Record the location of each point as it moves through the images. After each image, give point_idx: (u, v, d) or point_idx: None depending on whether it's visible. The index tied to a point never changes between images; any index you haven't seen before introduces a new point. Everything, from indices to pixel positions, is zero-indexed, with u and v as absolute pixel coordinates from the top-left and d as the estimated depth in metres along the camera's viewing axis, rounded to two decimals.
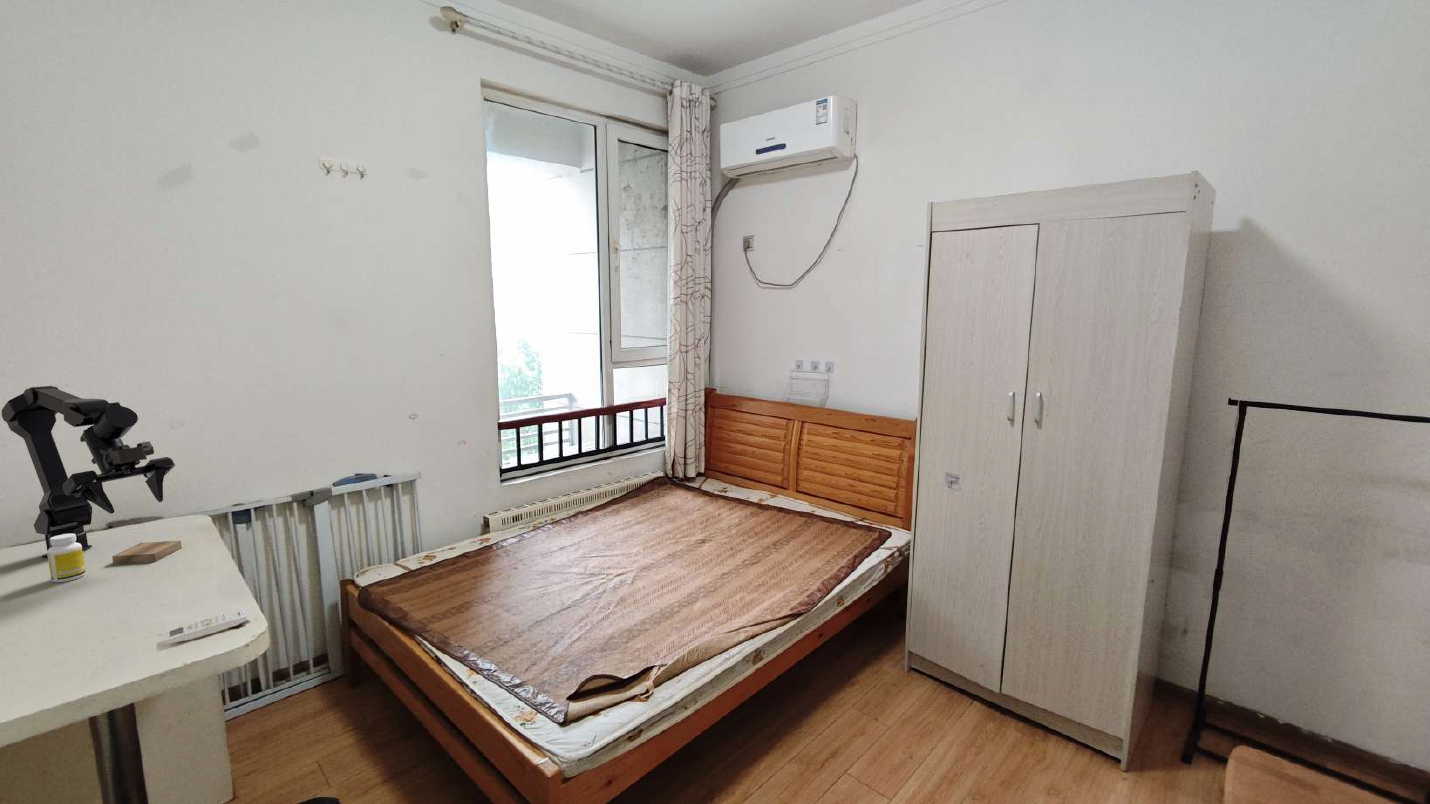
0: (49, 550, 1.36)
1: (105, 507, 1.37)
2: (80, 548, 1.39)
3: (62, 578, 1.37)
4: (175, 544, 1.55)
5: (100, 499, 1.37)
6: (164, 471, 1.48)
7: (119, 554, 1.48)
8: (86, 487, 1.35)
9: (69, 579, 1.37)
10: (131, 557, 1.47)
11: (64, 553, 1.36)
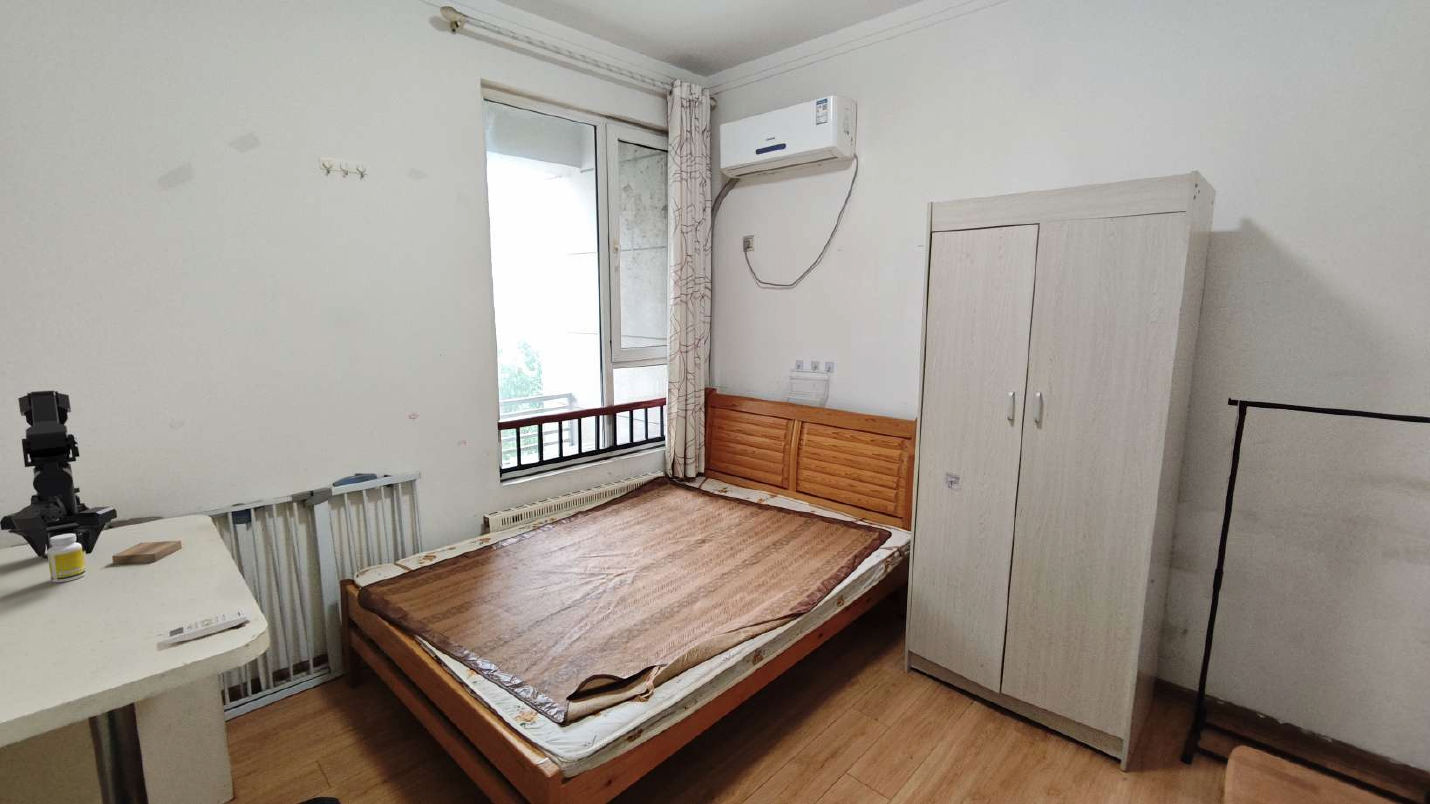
0: (49, 550, 1.36)
1: None
2: (80, 548, 1.39)
3: (62, 578, 1.37)
4: (175, 544, 1.55)
5: None
6: (86, 529, 1.36)
7: (119, 554, 1.48)
8: None
9: (69, 579, 1.37)
10: (131, 557, 1.47)
11: (64, 553, 1.36)
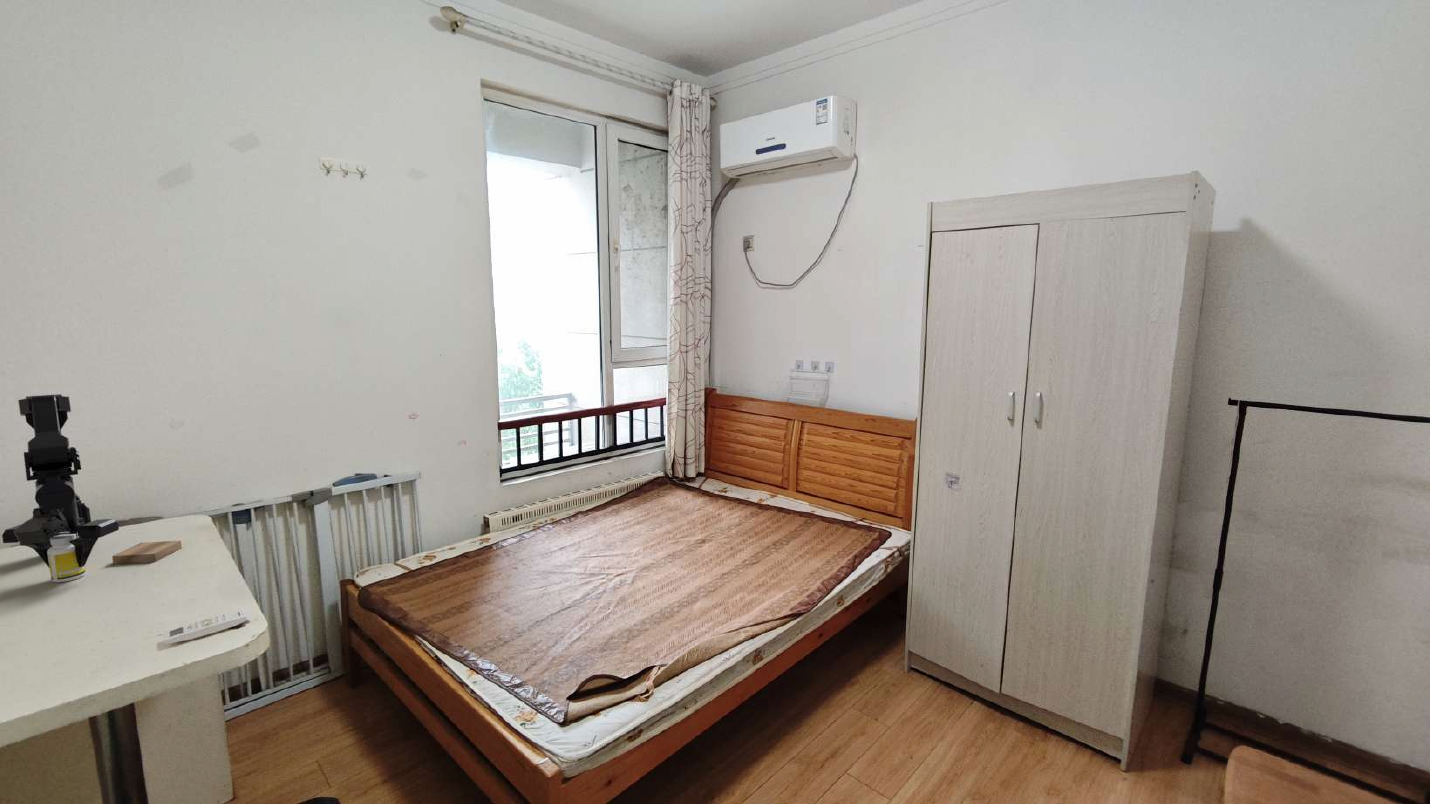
0: (49, 550, 1.36)
1: None
2: None
3: (62, 578, 1.37)
4: (175, 544, 1.55)
5: None
6: (78, 542, 1.36)
7: (119, 554, 1.48)
8: None
9: (69, 579, 1.37)
10: (131, 557, 1.47)
11: (64, 553, 1.36)
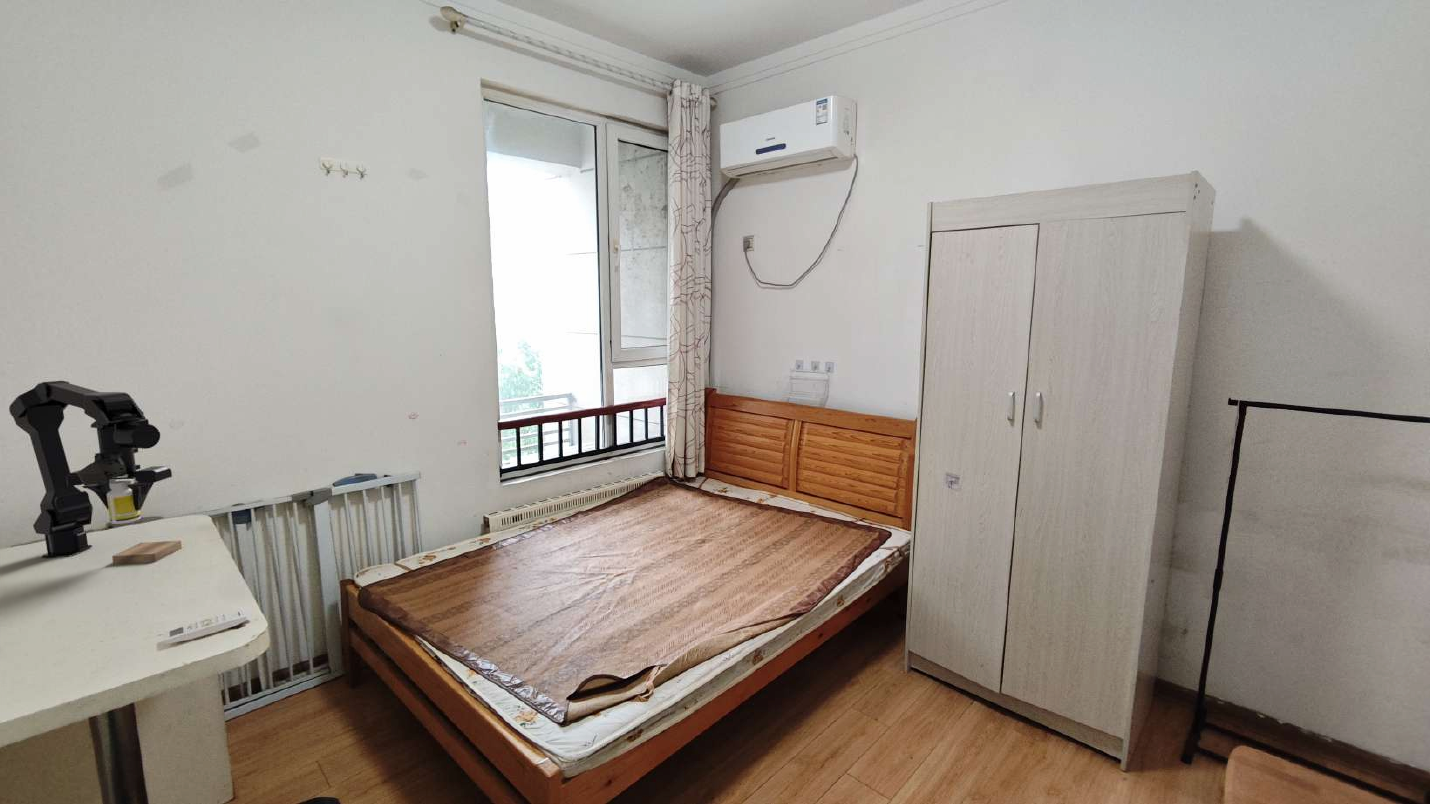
0: (108, 493, 1.45)
1: None
2: None
3: (120, 520, 1.45)
4: (175, 544, 1.55)
5: None
6: (136, 486, 1.45)
7: (119, 554, 1.48)
8: None
9: (127, 521, 1.46)
10: (131, 557, 1.47)
11: (122, 497, 1.45)
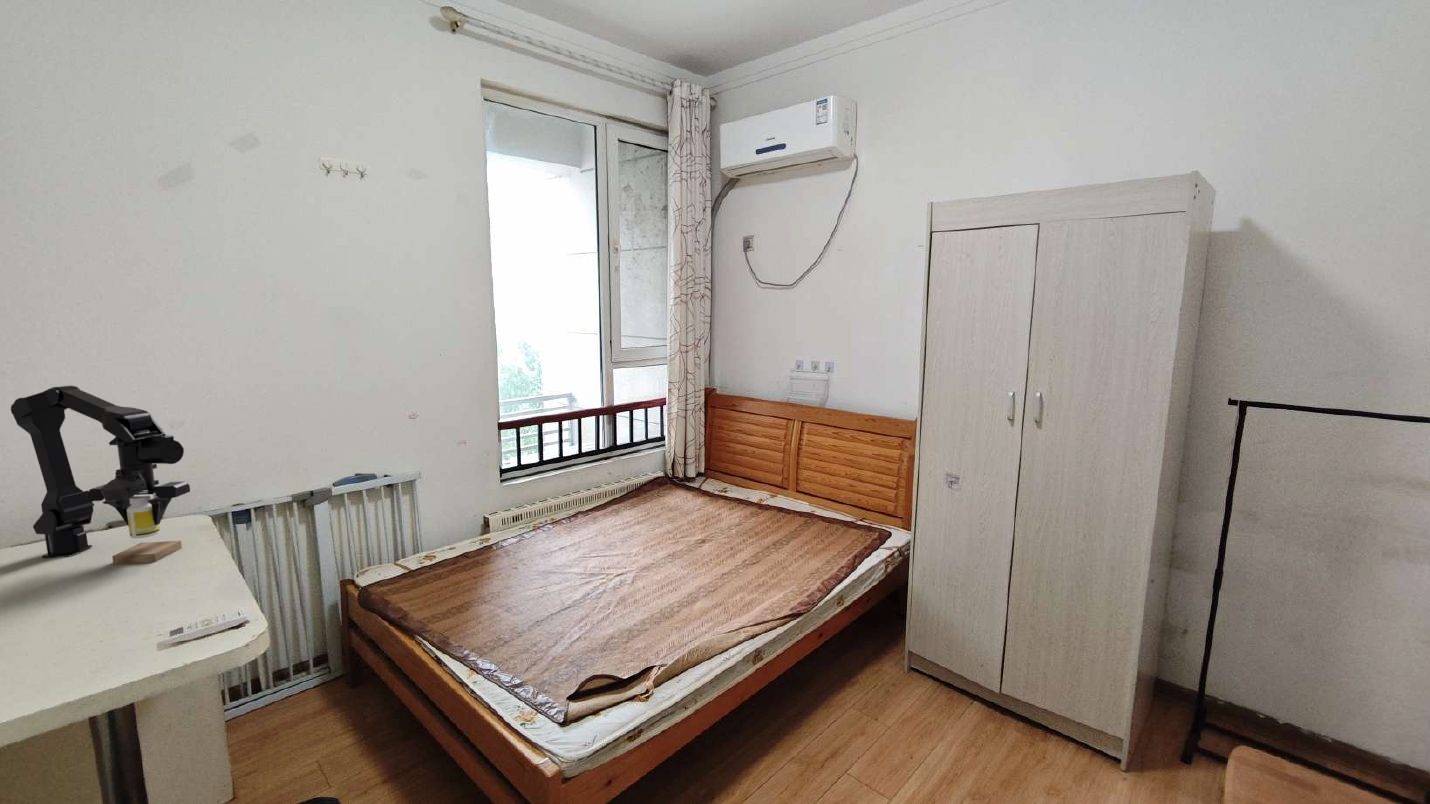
0: (129, 508, 1.48)
1: None
2: None
3: (140, 534, 1.49)
4: (175, 544, 1.55)
5: None
6: (156, 502, 1.48)
7: (119, 554, 1.48)
8: None
9: (147, 535, 1.50)
10: (131, 557, 1.47)
11: (142, 512, 1.49)
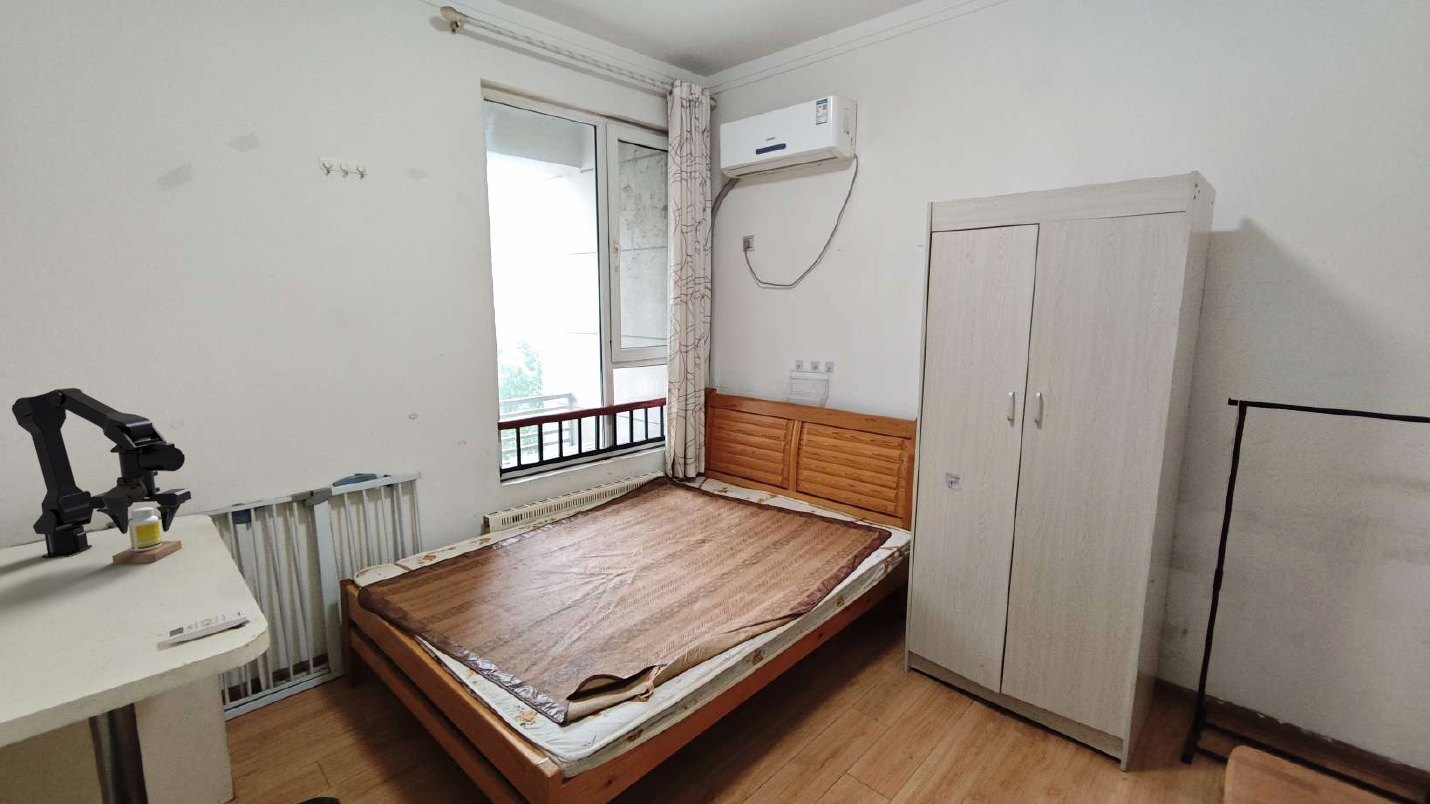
0: (130, 522, 1.49)
1: None
2: (157, 520, 1.52)
3: (142, 547, 1.49)
4: (175, 544, 1.55)
5: None
6: (164, 509, 1.49)
7: (119, 554, 1.48)
8: None
9: (149, 548, 1.50)
10: (131, 557, 1.47)
11: (144, 525, 1.49)
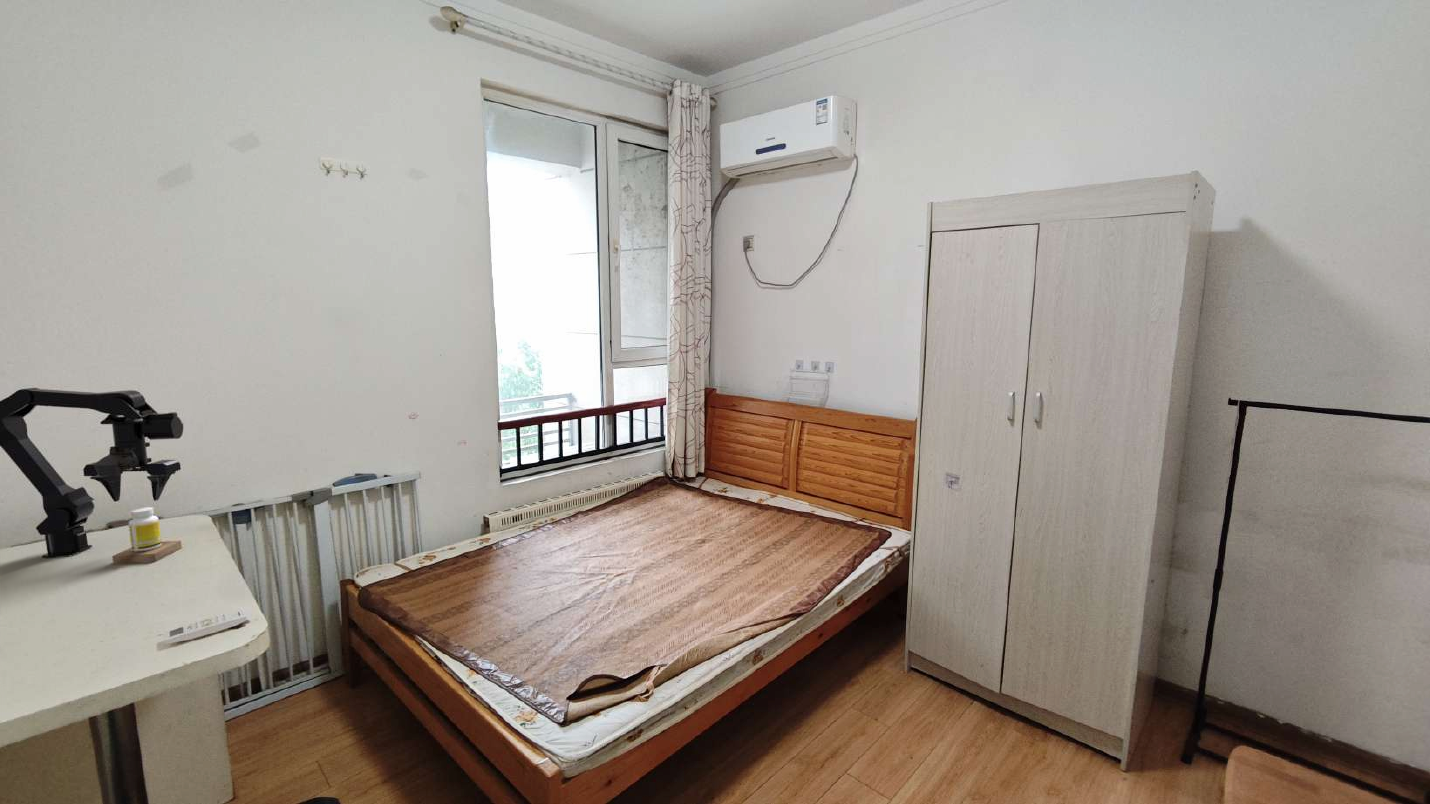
0: (130, 522, 1.49)
1: None
2: (157, 520, 1.52)
3: (142, 547, 1.49)
4: (175, 544, 1.55)
5: None
6: (154, 478, 1.55)
7: (119, 554, 1.48)
8: None
9: (149, 548, 1.50)
10: (131, 557, 1.47)
11: (144, 525, 1.49)
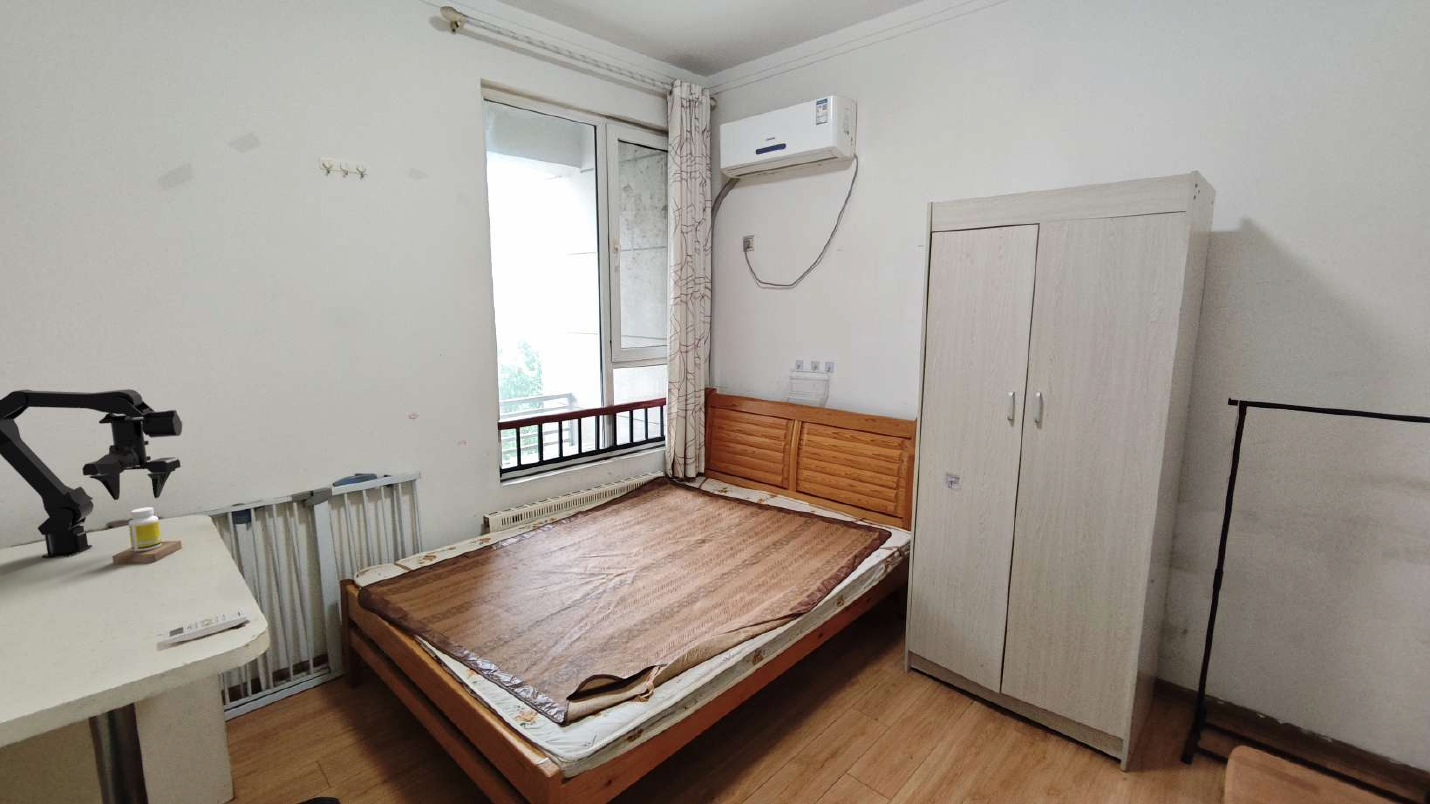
0: (130, 522, 1.49)
1: None
2: (157, 520, 1.52)
3: (142, 547, 1.49)
4: (175, 544, 1.55)
5: None
6: (155, 476, 1.57)
7: (119, 554, 1.48)
8: None
9: (149, 548, 1.50)
10: (131, 557, 1.47)
11: (144, 525, 1.49)
